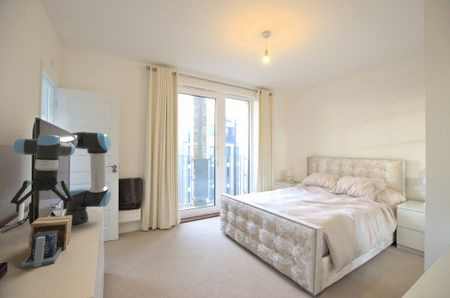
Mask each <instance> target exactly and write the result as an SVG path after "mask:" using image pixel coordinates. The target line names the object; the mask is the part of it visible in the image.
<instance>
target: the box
mask: <svg viewBox="0 0 450 298" xmlns="http://www.w3.org/2000/svg"><path fill="white" fill-rule="evenodd" d="M41 236H45V246H44V257H43V258H47V257H53V256H54V254H55V252H56V248H57V247H58V246H57V245H58V243H57V236H58V230H56V231H47V232H37V233H36V234H35V235H34V236H33V242H32V251H31V260H34V258H35V247H36V239H37V238H38V237H41Z"/></svg>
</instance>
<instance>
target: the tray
mask: <svg viewBox="0 0 450 298" xmlns="http://www.w3.org/2000/svg"><path fill="white" fill-rule="evenodd" d="M44 246H45V236H41V237H38V238H37V239H36V247H35V258H34V260H31V253H30V255H27V257H26V258H25V259H24V261H22V263H20V270H22V269H27V268H38V267H42V266H46V265H52V264H55V263H56V261H57V260H58V258H59V257H60V254H61V252H62V250H63V246H59V247H58V246H56V252H55V254H54V256H53V257H47V258H43V257H44Z"/></svg>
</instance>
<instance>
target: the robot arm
mask: <svg viewBox="0 0 450 298" xmlns="http://www.w3.org/2000/svg"><path fill="white" fill-rule="evenodd" d="M111 145H112V144H111V138H110V136H109V135H108V134H106V133H101V132H90V131H89V132H88V131H87V132H86V131H80V132H79V131H78V132H71V133H65V134H63V135H56V134H55V135H53V134H42V133H41V134H39V135H38V137H37V138H18V139H16V140H15V141H14V142H13V146H12V147H13V151H14V152H15V154H17V155H24V156H26V155H27V156H28V155H29V156H36V157H35V158H36V159H35V165H34V168H35V170H34V174H33V175H34V176H33V180H32V181H31V180H28V179H26V180H24V181H22V185H21V187H20V188H19V190H18V191H17V192H16V193H15V195H14V196H13V197H12V198H11V200H10V202H9V203H10V204H14V205H16V206H15V212H16V213H18V217H17V219H18V220H17V221H18V222H20V221H22V220H23V219H24V215H25V205H26V204H25V201H26V200H27V199H28V198H30V197H31V196H32V195H33V194H35V192H37V191H39V192H43V191H44V192H45V191H46V192H49V191H51V192H53V193H54V194H55V195H56V196H57V197H58V198H59V199H60V200H61V201H62V202H61V204H60V212H59V216H60V217H63V216H65V215H72V225H71V226H74V225H81V224H85V223H87V222H88V221H89V218H90V217H89V214H88V211H87V208H101V207H103V208H105V207H107V205H109V203H110V201H111V196H112V190H109V187H108V186H107V185H106V154H107V153H108V151H109V150H111ZM76 149H78V150H79V149H80V150H86V151H87V153H88V155H90V156H89V157H90V159H89V160H90V186H91V187H90V188H88V187H82V188H73V189H71V190H69V187H68V186H67V184H66V179H62V180H58V170H57V169H58V168H59V161H60V160H59V159H60V157H69V156H72V155H73V154H74V153H75V151H76ZM31 185H32V186H33V188H32V189H31V190H30V191H29V192H27V193H25V195H24V196H23V197H22V195H23V194H24V192H25V191H26V190H27V188H28V187H29V186H31ZM56 185H59V186H61V189H62V190H63V193H64V194H63V193H62V192H61V191H60V190H59V188H58V187H57V186H56Z"/></svg>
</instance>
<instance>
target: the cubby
mask: <svg viewBox="0 0 450 298" xmlns="http://www.w3.org/2000/svg"><path fill="white" fill-rule="evenodd" d="M64 215H65V214H64ZM72 226H73V225H72V215H65V216H63V217H60V215H55V216H53V215H52V216H42V217H39V216H38V217H37V219H35V220H34V221H33V222H32V223H30V231H29V243H28V251H27V252H28V253H27V254H28V255H27V256H29V255H30V253H31V251H32V242H33V236H34V235H35V234H36V233H37V232H47V231H56V230H58V236H57V244H61V243H62V244H63V250H64V251H66V250H67V248H68V246H69V244H70V242H71V236H72Z"/></svg>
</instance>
